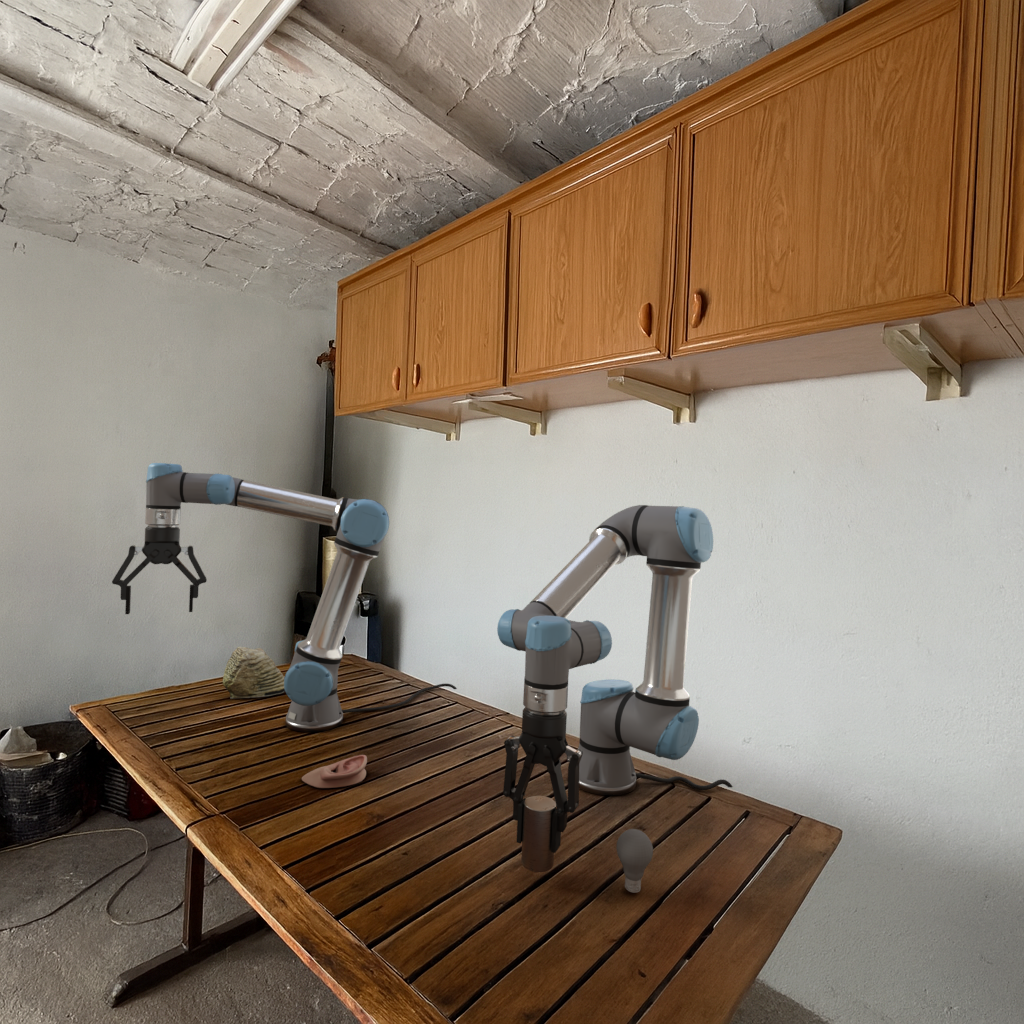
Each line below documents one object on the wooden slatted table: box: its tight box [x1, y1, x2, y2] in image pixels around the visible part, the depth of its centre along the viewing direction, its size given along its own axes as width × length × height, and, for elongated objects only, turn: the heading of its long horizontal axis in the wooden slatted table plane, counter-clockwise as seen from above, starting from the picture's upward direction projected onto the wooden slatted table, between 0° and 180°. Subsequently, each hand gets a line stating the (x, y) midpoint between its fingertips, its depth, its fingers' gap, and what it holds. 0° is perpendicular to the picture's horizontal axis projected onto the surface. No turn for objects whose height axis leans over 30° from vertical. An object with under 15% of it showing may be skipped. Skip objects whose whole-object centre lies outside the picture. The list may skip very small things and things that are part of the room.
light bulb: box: [615, 828, 654, 894], centre depth 106 cm, size 6×6×10 cm
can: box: [520, 795, 557, 873], centre depth 108 cm, size 6×6×10 cm
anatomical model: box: [301, 754, 368, 789], centre depth 143 cm, size 13×4×12 cm
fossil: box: [222, 646, 285, 699], centre depth 198 cm, size 9×18×15 cm, turn 132°
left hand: (159, 612), depth 156 cm, fingers open, 13 cm apart
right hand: (538, 843), depth 108 cm, fingers closed on can, 5 cm apart
